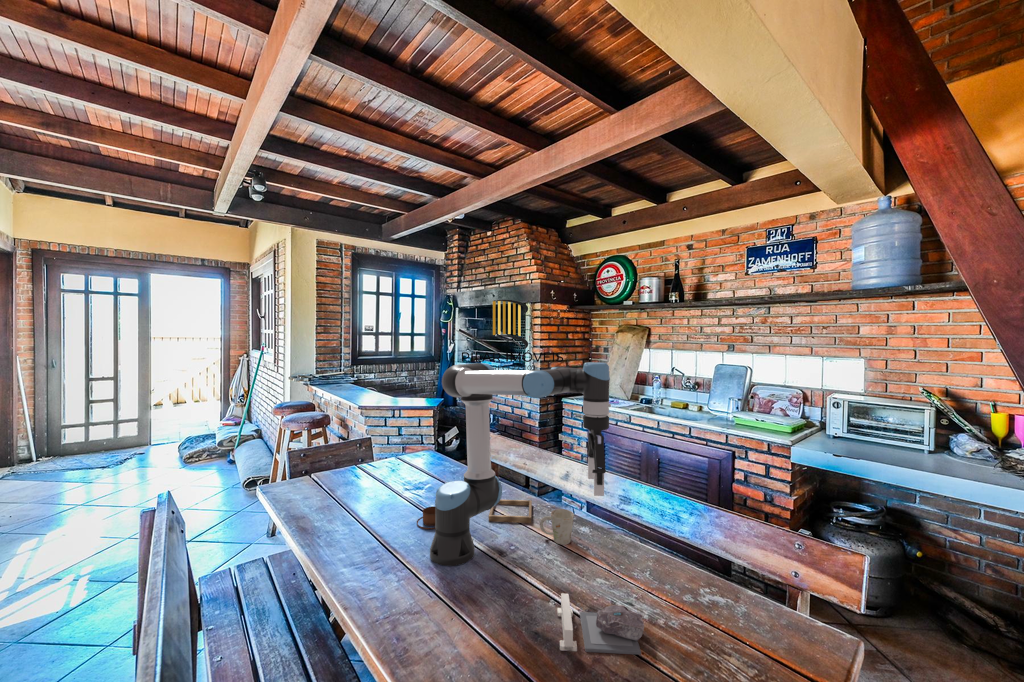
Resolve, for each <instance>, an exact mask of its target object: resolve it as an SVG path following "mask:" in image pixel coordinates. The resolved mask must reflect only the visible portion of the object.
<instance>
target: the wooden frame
mask: <svg viewBox="0 0 1024 682" xmlns="http://www.w3.org/2000/svg"><path fill="white" fill-rule="evenodd" d="M532 503H533V501H532V499H531V500H527V499H526V500H525V499H502V498H501V499H500V501H499V502H498V504H497V505H507V506H508V505H509V506H527V507H528V515H503V514H501V515H500V514H497V515H496V514H494V511H495V508H496V505H495V506H494V507H492V508H491V509H489V513H488V522H498V523H513V524H515V523H519V524H532V506H533V505H532Z"/></svg>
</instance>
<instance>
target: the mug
mask: <svg viewBox="0 0 1024 682" xmlns="http://www.w3.org/2000/svg"><path fill="white" fill-rule="evenodd" d="M574 516H575V514H574V512H573V511H571V510H569V509H566V508H565V509H562V508H558V509H554V510H552V511H550V516H548V515H547V516H543V517H542V518H541V519H540V520H539V528H540V530H541V531H542V532H543V533H544V534H545V535H551V536H553V541H554V542H555V543H556V544H558V545H568V544H570V542H571V541H572V540H571V539H572V532H573V525H574ZM545 521H551V527H552V531H547V530H546V529H545V527H544V523H545Z"/></svg>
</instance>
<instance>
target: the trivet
mask: <svg viewBox="0 0 1024 682" xmlns="http://www.w3.org/2000/svg"><path fill="white" fill-rule="evenodd" d="M579 618H580V623H581V624H580V625H581V631H582V638H583V645H584V650H585V652H586V653H601V654H621V655H639V656H641V655H642V650H641V646H640V644H639V640H637V641H636V640H632V639H628V638H623V637H621V636H617V635H615V634H608V633H604V631H603V630H601V629H599V628H598V627H597V626H596V619H597V612H587V611H580V612H579Z"/></svg>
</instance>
